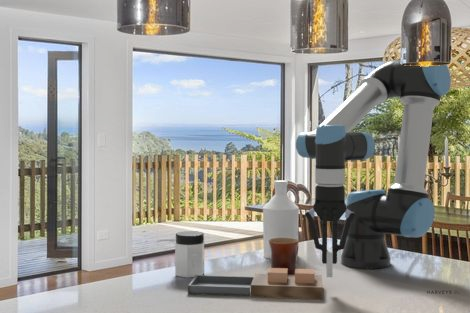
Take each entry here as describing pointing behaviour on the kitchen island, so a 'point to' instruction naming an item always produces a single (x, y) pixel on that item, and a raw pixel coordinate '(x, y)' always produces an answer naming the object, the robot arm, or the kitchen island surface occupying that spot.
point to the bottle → (279, 217)
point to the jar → (189, 254)
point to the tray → (220, 285)
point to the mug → (284, 253)
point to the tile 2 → (304, 276)
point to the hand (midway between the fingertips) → (329, 275)
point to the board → (286, 288)
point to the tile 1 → (278, 275)
